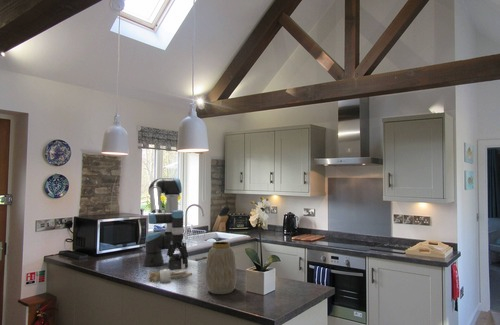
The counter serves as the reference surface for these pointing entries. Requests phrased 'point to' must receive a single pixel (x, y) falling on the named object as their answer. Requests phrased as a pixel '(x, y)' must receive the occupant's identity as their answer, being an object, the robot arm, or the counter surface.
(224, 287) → the vase
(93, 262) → the counter surface
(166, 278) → the white short cylinder
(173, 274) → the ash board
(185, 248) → the robot arm
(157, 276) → the beech block
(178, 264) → the camera
